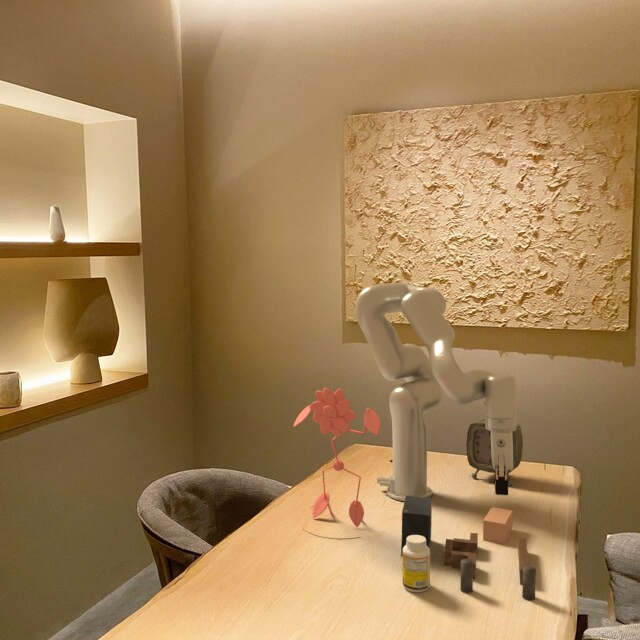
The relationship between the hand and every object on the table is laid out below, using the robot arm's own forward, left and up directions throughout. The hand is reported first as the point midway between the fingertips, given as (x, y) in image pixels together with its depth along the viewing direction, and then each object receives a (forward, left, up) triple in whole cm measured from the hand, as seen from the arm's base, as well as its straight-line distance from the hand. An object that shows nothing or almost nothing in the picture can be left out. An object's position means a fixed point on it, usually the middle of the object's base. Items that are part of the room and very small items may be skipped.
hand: (501, 493), depth 174 cm
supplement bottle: (-17, -41, -7) cm, 44 cm away
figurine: (-41, -15, -7) cm, 44 cm away
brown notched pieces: (-3, -30, -6) cm, 30 cm away
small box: (-19, -23, -7) cm, 30 cm away
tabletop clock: (-2, +29, -7) cm, 30 cm away
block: (-1, -11, -7) cm, 12 cm away
